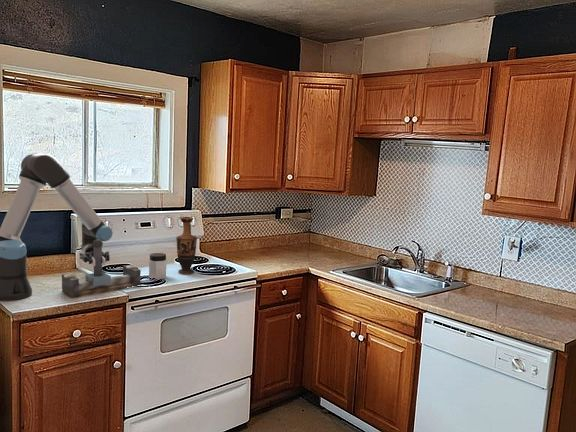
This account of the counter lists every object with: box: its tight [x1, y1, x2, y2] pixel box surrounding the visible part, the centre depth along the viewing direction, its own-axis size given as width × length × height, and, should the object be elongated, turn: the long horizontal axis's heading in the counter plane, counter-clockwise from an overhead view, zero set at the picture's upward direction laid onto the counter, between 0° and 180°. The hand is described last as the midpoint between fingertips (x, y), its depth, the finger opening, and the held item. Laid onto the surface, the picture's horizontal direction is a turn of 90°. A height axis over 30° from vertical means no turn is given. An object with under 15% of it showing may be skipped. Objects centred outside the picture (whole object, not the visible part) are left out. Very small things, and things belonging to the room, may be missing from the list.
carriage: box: [84, 239, 112, 287], centre depth 224 cm, size 8×9×21 cm
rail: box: [61, 264, 141, 299], centre depth 227 cm, size 34×12×9 cm, turn 134°
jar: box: [148, 252, 167, 280], centre depth 250 cm, size 9×8×12 cm
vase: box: [176, 216, 198, 275], centre depth 261 cm, size 11×11×30 cm
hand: (99, 262), depth 220 cm, fingers closed on carriage, 4 cm apart
